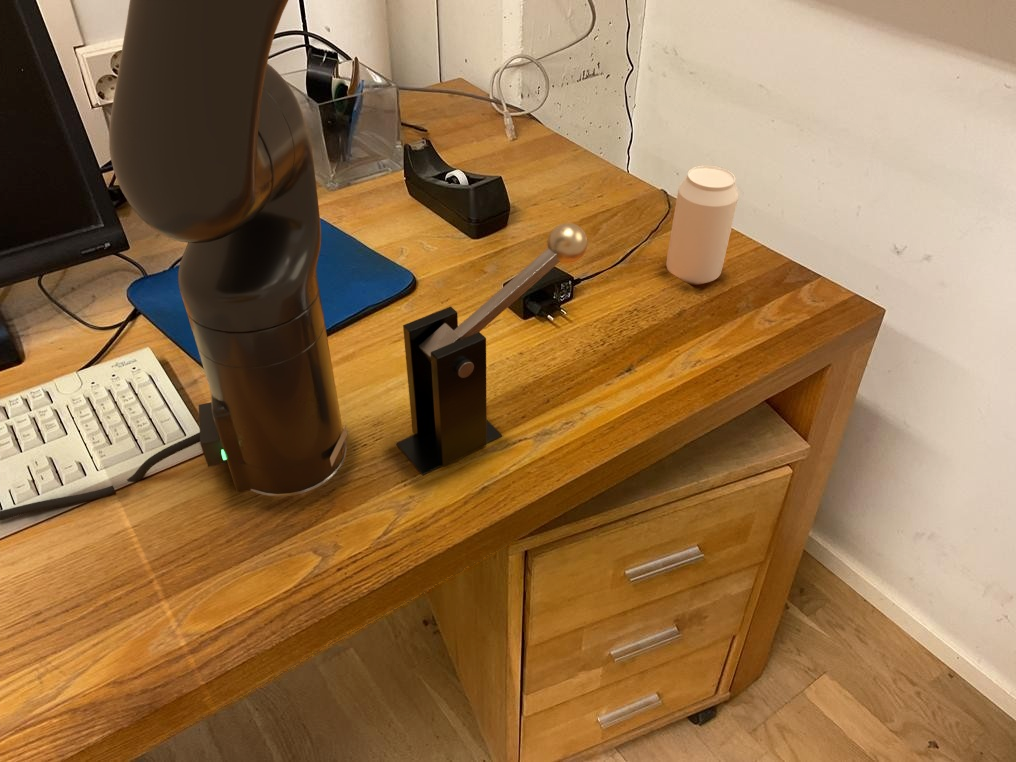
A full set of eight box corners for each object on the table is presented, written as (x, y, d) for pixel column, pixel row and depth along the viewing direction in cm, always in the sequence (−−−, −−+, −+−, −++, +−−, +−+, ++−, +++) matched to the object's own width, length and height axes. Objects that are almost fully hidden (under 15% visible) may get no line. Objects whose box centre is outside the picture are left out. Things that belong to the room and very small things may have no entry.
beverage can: (665, 256, 94) (681, 159, 86) (719, 262, 93) (740, 165, 85) (663, 285, 89) (680, 187, 82) (720, 292, 89) (743, 193, 81)
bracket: (469, 411, 74) (466, 295, 65) (507, 449, 70) (509, 332, 62) (392, 447, 70) (378, 329, 62) (428, 490, 67) (419, 371, 58)
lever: (574, 235, 67) (563, 208, 65) (599, 252, 65) (589, 225, 63) (429, 361, 65) (412, 339, 62) (450, 383, 63) (434, 361, 61)
